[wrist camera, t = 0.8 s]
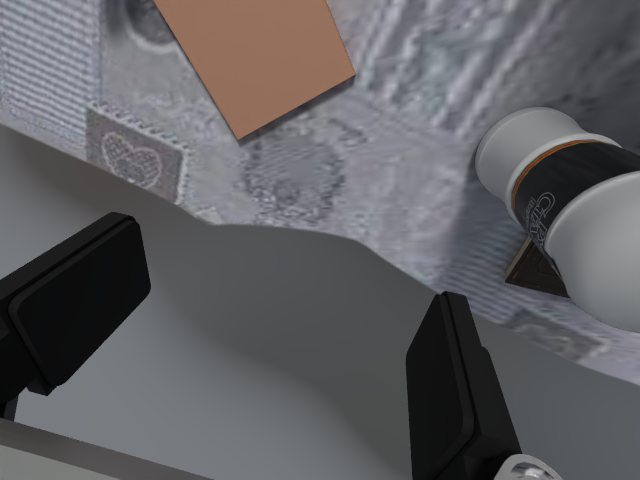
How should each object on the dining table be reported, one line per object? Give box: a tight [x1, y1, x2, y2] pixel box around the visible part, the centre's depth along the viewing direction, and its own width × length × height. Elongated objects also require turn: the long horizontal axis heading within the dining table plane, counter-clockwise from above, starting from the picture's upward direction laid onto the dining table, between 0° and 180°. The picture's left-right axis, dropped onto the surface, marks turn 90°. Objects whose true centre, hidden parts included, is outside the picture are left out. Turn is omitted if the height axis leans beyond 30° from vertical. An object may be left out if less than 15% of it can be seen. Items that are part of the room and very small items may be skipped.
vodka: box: [475, 107, 640, 333], centre depth 21 cm, size 9×9×30 cm
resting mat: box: [154, 0, 355, 139], centre depth 32 cm, size 15×15×1 cm
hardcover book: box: [505, 236, 570, 298], centre depth 36 cm, size 16×23×2 cm
